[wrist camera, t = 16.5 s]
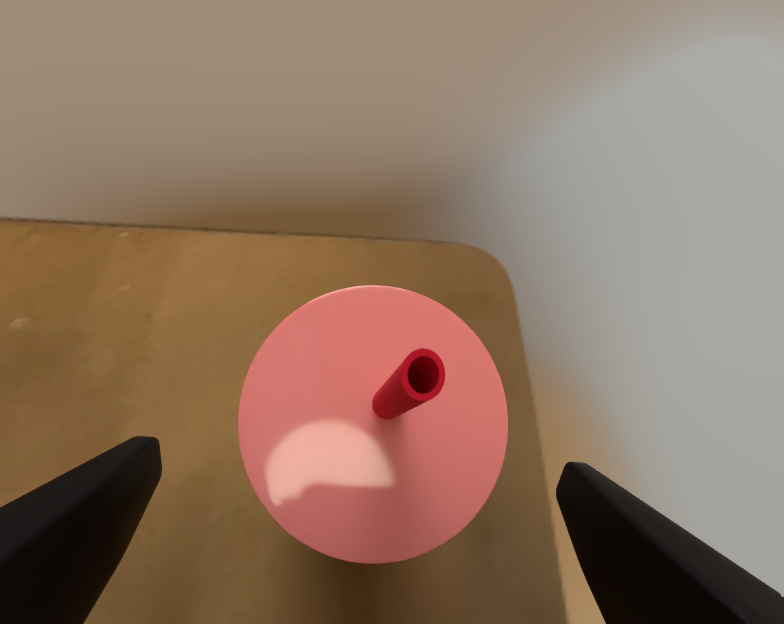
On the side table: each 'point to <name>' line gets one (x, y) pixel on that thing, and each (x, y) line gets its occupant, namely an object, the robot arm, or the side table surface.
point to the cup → (373, 424)
